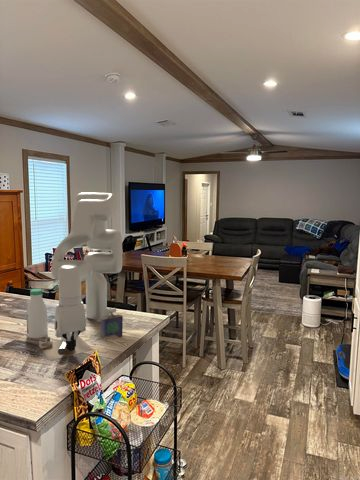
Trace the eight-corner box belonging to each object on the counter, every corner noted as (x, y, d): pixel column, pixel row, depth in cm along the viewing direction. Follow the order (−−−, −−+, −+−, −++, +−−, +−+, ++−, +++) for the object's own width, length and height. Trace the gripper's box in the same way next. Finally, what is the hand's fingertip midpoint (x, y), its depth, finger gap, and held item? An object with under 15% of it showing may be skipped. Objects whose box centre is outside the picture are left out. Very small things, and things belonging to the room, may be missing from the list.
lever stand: (78, 339, 144) (78, 328, 144) (93, 353, 133) (93, 340, 132) (37, 349, 135) (36, 336, 134) (49, 364, 123) (49, 351, 122)
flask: (101, 341, 144) (101, 315, 142) (99, 338, 146) (99, 313, 145) (123, 337, 148) (123, 312, 147) (120, 334, 151) (121, 309, 150)
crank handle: (63, 343, 136) (63, 331, 136) (75, 343, 137) (75, 330, 136) (54, 359, 123) (53, 346, 123) (67, 359, 124) (66, 345, 123)
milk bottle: (51, 335, 147) (50, 288, 145) (38, 343, 140) (37, 293, 137) (36, 333, 150) (35, 286, 147) (22, 339, 143) (21, 291, 140)
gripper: (86, 293, 133) (86, 340, 135) (45, 300, 124) (46, 350, 126) (94, 299, 127) (95, 348, 129) (52, 307, 118) (53, 359, 120)
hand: (71, 349), depth 128 cm, fingers closed
